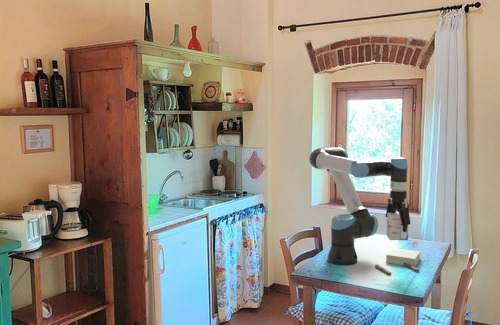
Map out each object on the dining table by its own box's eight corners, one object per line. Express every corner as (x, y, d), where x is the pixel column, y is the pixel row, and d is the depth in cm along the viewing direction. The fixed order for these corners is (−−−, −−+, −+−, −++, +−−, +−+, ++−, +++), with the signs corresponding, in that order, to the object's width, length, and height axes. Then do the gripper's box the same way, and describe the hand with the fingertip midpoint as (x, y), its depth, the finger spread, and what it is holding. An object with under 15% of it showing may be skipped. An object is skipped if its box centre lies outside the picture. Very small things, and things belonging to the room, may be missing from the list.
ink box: (404, 235, 227) (404, 212, 225) (408, 240, 218) (409, 216, 217) (386, 235, 228) (386, 212, 226) (389, 240, 219) (390, 216, 218)
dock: (386, 262, 235) (386, 254, 234) (392, 255, 247) (392, 247, 246) (415, 266, 228) (415, 258, 227) (420, 259, 240) (420, 251, 239)
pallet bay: (375, 267, 228) (375, 264, 228) (404, 264, 232) (404, 261, 232) (388, 275, 216) (388, 272, 216) (418, 271, 221) (419, 269, 220)
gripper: (379, 186, 230) (377, 230, 233) (405, 194, 208) (403, 242, 211) (392, 185, 232) (391, 229, 235) (419, 193, 210) (418, 241, 213)
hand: (397, 235), depth 223 cm, fingers closed on ink box, 10 cm apart
